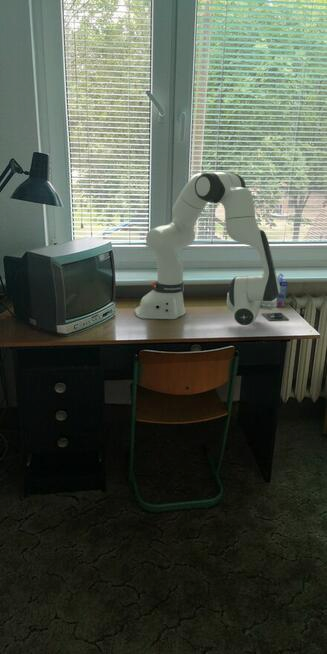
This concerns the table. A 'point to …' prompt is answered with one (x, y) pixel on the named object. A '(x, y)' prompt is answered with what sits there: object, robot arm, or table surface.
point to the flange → (274, 316)
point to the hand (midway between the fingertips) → (253, 295)
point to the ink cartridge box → (281, 292)
